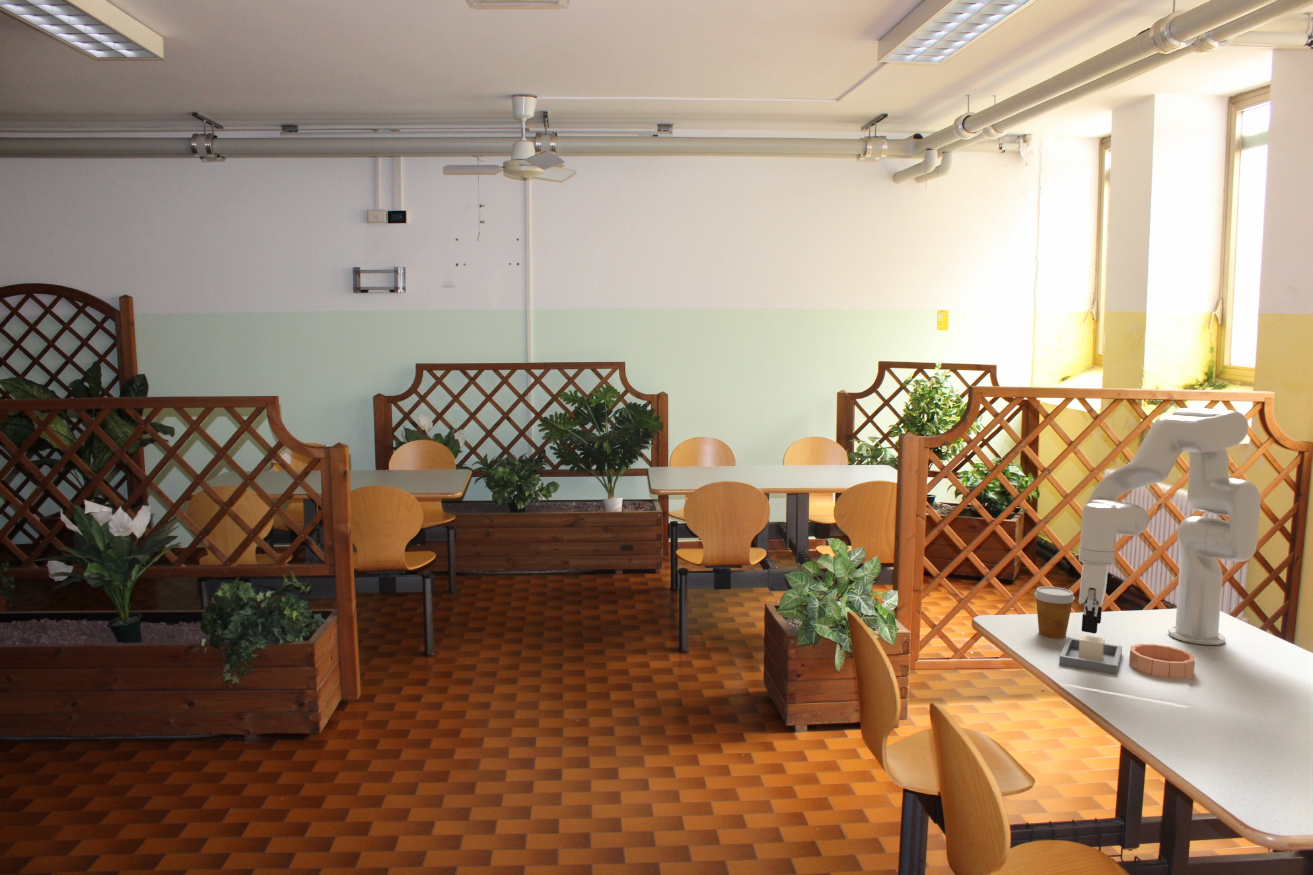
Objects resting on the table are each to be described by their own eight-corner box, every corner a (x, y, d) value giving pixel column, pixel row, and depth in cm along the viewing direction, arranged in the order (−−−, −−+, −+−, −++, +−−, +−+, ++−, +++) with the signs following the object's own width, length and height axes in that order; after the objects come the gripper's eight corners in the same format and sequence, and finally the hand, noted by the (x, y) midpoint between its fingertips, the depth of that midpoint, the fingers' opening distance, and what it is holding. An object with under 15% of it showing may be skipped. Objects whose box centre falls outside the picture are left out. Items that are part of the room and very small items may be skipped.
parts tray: (1067, 647, 222) (1068, 637, 222) (1121, 656, 216) (1122, 646, 216) (1059, 666, 209) (1059, 655, 208) (1116, 676, 202) (1117, 665, 202)
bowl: (1131, 656, 216) (1132, 640, 215) (1193, 666, 209) (1194, 650, 209) (1127, 672, 205) (1128, 655, 204) (1193, 684, 198) (1194, 666, 198)
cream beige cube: (1080, 654, 216) (1081, 634, 215) (1103, 657, 213) (1104, 637, 213) (1078, 660, 211) (1079, 639, 211) (1101, 664, 209) (1103, 643, 208)
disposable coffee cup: (1074, 634, 232) (1077, 589, 231) (1069, 644, 224) (1072, 598, 223) (1035, 628, 237) (1038, 584, 236) (1029, 637, 229) (1031, 592, 228)
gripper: (1083, 548, 219) (1077, 616, 220) (1075, 560, 204) (1069, 633, 206) (1117, 552, 215) (1111, 621, 217) (1111, 565, 200) (1105, 639, 202)
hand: (1091, 627), depth 211 cm, fingers open, 9 cm apart
